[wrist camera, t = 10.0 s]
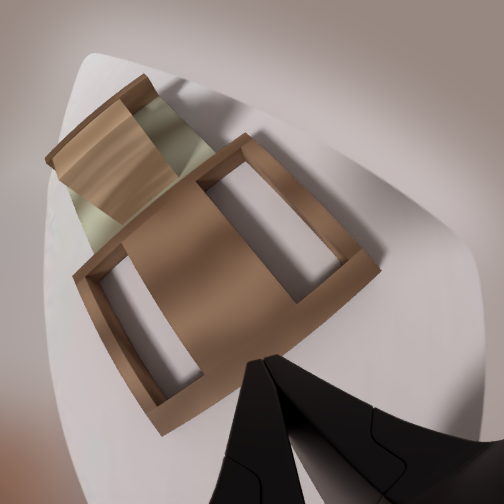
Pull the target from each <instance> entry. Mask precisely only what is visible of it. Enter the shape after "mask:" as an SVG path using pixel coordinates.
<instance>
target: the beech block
mask: <svg viewBox="0 0 504 504" xmlns="http://www.w3.org/2000/svg"><path fill="white" fill-rule="evenodd" d="M52 159H53V163H54V166H55V170H56V173H57V176H58V179H59V181H61V182H62V183H63V184H65V185H66V186H68V187H69V188H70V189H72V190H73V191H74V192H76V193H77V194H79V195H80V196H81V197H83V198H84V199H86V200H87V201H88V202H90V203H91V204H93V205H94V206H95V207H97V208H98V209H100V210H101V211H102V212H104V213H105V214H107V215H108V216H110V217H111V218H112V219H114V220H115V221H117V222H118V223H120V224H121V225H123V224H124V223H125V222H126V221H127V220H129V219H130V218H131V217H132V216H133V215H134V214H136V213H137V212H138V211H139V210H140V209H141V208H142V207H144V206H145V205H146V204H147V203H148V202H150V201H151V200H152V199H153V198H154V197H156V196H157V195H158V194H159V193H160V192H162V191H163V190H164V189H165V188H167V187H168V186H169V185H170V184H172V183H173V182H174V181H175V180H177V179H178V178H179V177H178V176H177V175H176V173H175V172H174V171H173V169H172V168H171V167H170V165H169V164H168V163H167V161H166V160H165V159H164V157H163V156H162V155H161V153H160V152H159V151H158V149H157V148H156V147H155V145H154V144H153V143H152V141H151V140H150V139H149V137H148V136H147V135H146V133H145V132H144V131H143V129H142V128H141V126H140V125H139V124H138V122H137V121H136V120H135V118H134V117H133V116H132V114H131V113H130V112H129V111H128V109H127V108H126V107H125V105H124V104H123V103H122V102H121V100H120V99H118V100H117V101H116V102H114V103H113V104H112V105H111V106H109V107H108V108H107V109H106V110H105V111H103V112H102V113H101V114H100V115H99V116H97V117H96V118H95V119H94V120H93V121H91V122H90V123H89V124H88V125H87V126H86V127H85V128H84V129H82V130H81V131H80V132H79V133H78V134H77V135H76V136H75V137H74V138H73V139H72V140H71V141H69V142H68V143H67V144H66V145H65V146H64V147H63V148H62V149H61V150H60V151H59V152H58V153H57V154H56V155H55V156H54V157H53V158H52Z"/></svg>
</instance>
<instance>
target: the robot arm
mask: <svg viewBox="0 0 504 504" xmlns="http://www.w3.org/2000/svg"><path fill="white" fill-rule="evenodd" d="M290 443H291V444H290ZM291 445H292V447H293V449H294V451H295V452H296V454H297V456H298V458H299V459H300V461H301V463H302V465H303V467H304V468H305V470H306V472H307V474H308V475H309V477H310V479H311V481H312V482H313V484H314V486H315V487H316V489H317V491H318V492H319V494H320V496H321V498H322V499H323V501H324V503H325V504H504V439H503V440H499V441H492V442H478V441H471V440H467V439H463V438H459V437H455V436H451V435H448V434H444V433H441V432H437V431H434V430H431V429H427V428H424V427H421V426H418V425H415V424H412V423H410V422H407V421H404V420H402V419H400V418H397V417H395V416H393V415H390V414H388V413H386V412H384V411H382V410H380V409H378V408H376V407H374V408H373V406H372V405H370V404H368V403H366V402H364V401H362V400H360V399H358V398H356V397H354V396H352V395H350V394H348V393H346V392H344V391H343V390H341V389H339V388H337V387H335V386H333V385H331V384H330V383H328V382H326V381H324V380H322V379H320V378H319V377H317V376H315V375H313V374H311V373H310V372H308V371H306V370H304V369H303V368H301V367H299V366H297V365H296V364H294V363H292V362H290V361H289V360H287V359H285V358H284V357H282V356H280V355H278V354H275V355H271V356H267V357H264V358H263V360H262V359H256V360H252V361H249V362H247V364H246V368H245V372H244V377H243V381H242V385H241V389H240V394H239V398H238V402H237V406H236V410H235V414H234V419H233V423H232V427H231V431H230V435H229V439H228V443H227V447H226V451H225V457H224V458H223V462H222V466H221V470H220V473H219V477H218V480H217V483H216V487H215V489H214V492H213V494H212V497H211V499H210V502H209V504H305V500H304V496H303V492H302V488H301V484H300V480H299V476H298V472H297V468H296V464H295V460H294V456H293V452H292V448H291Z"/></svg>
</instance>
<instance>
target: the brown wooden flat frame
mask: <svg viewBox="0 0 504 504" xmlns="http://www.w3.org/2000/svg"><path fill="white" fill-rule="evenodd" d="M118 99H120V100H121V102H122V103H123V104H124V105H125V107H126V108H127V109H128V111H129V112H130V113H131V114H132V116H133V117H134V118H135V120H136V121H137V122H138V124H139V125H140V126H141V128H142V129H143V131H144V132H145V133H146V135H147V136H148V137H149V139H150V140H151V141H152V143H153V144H154V145H155V147H156V148H157V149H158V151H159V152H160V153H161V155H162V156H163V157H164V159H165V160H166V161H167V163H168V164H169V165H170V167H171V168H172V169H173V171H174V172H175V173H176V175H177V176H178V177H179V178H178V179H177V180H175V181H174V182H173V183H172V184H170V185H169V186H168V187H167V188H165V189H164V190H163V191H162V192H160V193H159V194H158V195H157V196H156V197H154V198H153V199H152V200H151V201H150V202H148V203H147V204H146V205H145V206H144V207H142V208H141V209H140V210H139V211H138V212H137V213H136V214H134V215H133V216H132V217H131V218H130V219H129V220H127V221H126V222H125V223H124V224H123V225H121V224H120V223H118V222H117V221H115V220H114V219H112V218H111V217H110V216H108V215H107V214H105V213H104V212H102V211H101V210H100V209H98V208H97V207H95V206H94V205H93V204H91V203H90V202H88V201H87V200H86V199H84V198H83V197H81V196H80V195H79V194H77V193H76V192H74V191H73V190H72V189H70V188H69V187H68V186H67V188H68V191H69V194H70V196H71V199H72V202H73V204H74V207H75V210H76V212H77V215H78V217H79V220H80V222H81V225H82V227H83V229H84V232H85V234H86V236H87V239H88V241H89V243H90V246H91V248H92V250H93V252H94V255H93V256H92V257H91V258H90V259H89V260H88V261H87V262H86V263H85V264H84V265H83V266H82V267H81V268H80V269H79V270H78V271H77V272H76V273H75V274H74V275H73V276H72V277H73V279H74V281H75V284H76V286H77V289H78V291H79V293H80V296H81V298H82V300H83V302H84V305H85V307H86V309H87V311H88V313H89V315H90V318H91V320H92V322H93V324H94V326H95V328H96V330H97V332H98V334H99V336H100V338H101V340H102V342H103V343H104V345H105V347H106V349H107V351H108V353H109V355H110V356H111V358H112V360H113V362H114V364H115V365H116V367H117V369H118V371H119V372H120V374H121V376H122V377H123V379H124V381H125V382H126V384H127V386H128V387H129V389H130V391H131V392H132V394H133V395H134V397H135V398H136V400H137V402H138V403H139V405H140V406H141V408H142V409H143V411H144V412H145V414H146V415H147V417H148V418H149V419H150V421H151V422H152V424H153V425H154V427H155V428H156V429H157V431H158V432H159V433H160V435H161V436H164V435H166V434H167V433H169V432H171V431H172V430H174V429H176V428H177V427H179V426H181V425H182V424H184V423H186V422H187V421H189V420H191V419H192V418H194V417H195V416H197V415H198V414H200V413H202V412H203V411H205V410H206V409H208V408H209V407H211V406H212V405H214V404H215V403H217V402H218V401H220V400H221V399H223V398H224V397H226V396H227V395H229V394H230V393H232V392H233V391H235V390H236V389H238V388H239V387H240V386H241V385H242V381H243V377H244V372H245V368H246V364H247V362H249V361H252V360H256V359H262V360H263V358H264V357H267V356H271V355H275V354H278V355H280V356H283V355H284V354H285V353H287V352H288V351H289V350H290V349H292V348H293V347H294V346H296V345H297V344H298V343H299V342H301V341H302V340H303V339H304V338H306V337H307V336H308V335H309V334H311V333H312V332H313V331H314V330H315V329H317V328H318V327H319V326H320V325H321V324H323V323H324V322H325V321H326V320H327V319H329V318H330V317H331V316H332V315H333V314H335V313H336V312H337V311H338V310H339V309H340V308H341V307H343V306H344V305H345V304H346V303H347V302H348V301H349V300H351V299H352V298H353V297H354V296H355V295H356V294H357V293H358V292H359V291H361V290H362V289H363V288H364V287H365V286H366V285H367V284H368V283H369V282H370V281H371V280H373V279H374V278H375V277H376V276H377V275H378V274H379V273H380V272H381V269H380V268H379V267H378V266H377V265H376V264H375V262H374V261H373V260H372V259H371V258H370V257H369V256H368V255H367V253H366V252H365V251H364V250H363V249H362V248H361V247H360V246H359V244H358V243H357V242H356V241H355V240H354V239H353V238H352V237H351V236H350V235H349V234H348V232H347V231H346V230H345V229H344V228H343V227H342V226H341V225H340V224H339V223H338V222H337V221H336V220H335V219H334V218H333V217H332V215H331V214H330V213H329V212H328V211H327V210H326V209H325V208H324V207H323V206H322V205H321V204H320V203H319V202H318V201H317V200H316V199H315V198H314V197H313V196H312V195H311V194H310V193H309V192H308V191H307V190H306V189H305V188H304V187H303V186H302V185H301V184H300V183H299V182H298V181H297V180H296V179H295V178H294V177H293V176H292V175H291V174H290V173H289V172H288V171H287V170H286V169H285V168H284V167H282V166H281V165H280V164H279V163H278V162H277V161H276V160H275V159H274V158H273V157H272V156H271V155H270V154H269V153H268V152H266V151H265V150H264V149H263V148H262V147H261V146H260V145H259V144H258V143H257V142H256V141H254V140H253V139H252V138H251V137H250V136H249V135H248V134H247V133H246V132H245V133H244V134H242V135H241V136H239V137H238V138H237V139H235V140H234V141H232V142H231V143H229V144H228V145H227V146H225V147H224V148H222V149H221V150H220V151H218V152H217V153H215V152H214V151H213V150H212V149H211V148H210V147H209V146H208V145H207V144H206V143H205V141H204V140H203V139H202V138H201V137H200V136H199V135H198V134H197V133H196V132H195V131H194V130H193V129H192V128H191V127H190V126H189V125H188V124H187V123H186V122H185V121H184V120H183V119H182V118H181V117H180V116H179V115H178V114H177V113H176V112H175V111H174V110H173V109H172V108H171V107H170V106H169V105H168V104H167V103H166V102H165V101H164V100H163V99H162V98H160V97H159V95H158V93H157V92H156V90H155V88H154V87H153V85H152V83H151V82H150V80H149V78H148V77H147V76H146V75H145V74H142V75H141V76H139V77H138V78H137V79H135V80H134V81H132V82H131V83H130V84H128V85H127V86H126V87H124V88H123V89H122V90H120V91H119V92H118V93H116V94H115V95H114V96H112V97H111V98H110V99H109V100H107V101H106V102H105V103H104V104H102V105H101V106H100V107H99V108H98V109H96V110H95V111H94V112H93V113H92V114H91V115H89V116H88V117H87V118H86V119H85V120H84V121H82V122H81V123H80V124H79V125H78V126H77V127H76V128H75V129H74V130H73V131H71V132H70V133H69V134H68V135H67V136H66V137H65V138H64V139H63V140H62V141H61V142H60V143H59V144H58V145H57V146H56V147H55V148H54V149H53V150H52V151H51V152H50V153H49V154H48V155H47V156H46V157H45V161H46V164H48V165H49V166H50V167H52V168H53V169H54V170H55V166H54V163H53V159H52V158H53V157H54V156H55V155H56V154H57V153H58V152H59V151H60V150H61V149H62V148H63V147H64V146H65V145H66V144H67V143H68V142H69V141H71V140H72V139H73V138H74V137H75V136H76V135H77V134H78V133H79V132H80V131H81V130H82V129H84V128H85V127H86V126H87V125H88V124H89V123H90V122H91V121H93V120H94V119H95V118H96V117H97V116H99V115H100V114H101V113H102V112H103V111H105V110H106V109H107V108H108V107H109V106H111V105H112V104H113V103H114V102H116V101H117V100H118ZM245 161H246V162H247V163H248V164H249V165H250V166H251V167H252V168H253V169H254V170H255V171H256V172H257V173H258V174H259V175H260V176H261V177H262V178H263V179H264V180H265V181H266V182H267V183H268V184H269V185H270V186H271V187H272V188H273V189H274V190H275V191H276V192H277V193H278V194H279V195H280V196H281V197H282V198H283V199H284V200H285V202H286V203H287V204H288V205H289V206H290V207H291V208H292V209H293V210H294V211H295V212H296V213H297V214H298V215H299V216H300V217H301V218H302V220H303V221H304V222H305V223H306V224H307V225H308V226H309V227H310V228H311V229H312V230H313V231H314V233H315V234H316V235H317V236H318V237H319V238H320V239H321V240H322V241H323V242H324V244H325V245H326V246H327V247H328V248H329V249H330V250H331V251H332V252H333V254H334V255H335V256H336V257H337V258H338V259H339V260H340V262H341V263H342V264H343V266H342V267H341V268H339V269H338V270H337V271H336V272H335V273H334V274H333V275H331V276H330V277H329V278H328V279H327V280H326V281H324V282H323V283H322V284H321V285H320V286H318V287H317V288H316V289H315V290H314V291H312V292H311V293H310V294H309V295H308V296H306V297H305V298H304V299H303V300H302V301H300V302H299V303H298V304H296V303H295V302H294V300H293V299H292V298H291V297H290V296H289V294H288V293H287V292H286V291H285V289H284V288H283V287H282V286H281V285H280V283H279V282H278V281H277V280H276V279H275V277H274V276H273V275H272V274H271V272H270V271H269V270H268V269H267V268H266V266H265V265H264V264H263V263H262V262H261V260H260V259H259V258H258V257H257V255H256V254H255V253H254V252H253V251H252V249H251V248H250V247H249V246H248V245H247V243H246V242H245V241H244V240H243V238H242V237H241V236H240V235H239V234H238V232H237V231H236V230H235V229H234V228H233V226H232V225H231V224H230V223H229V222H228V220H227V219H226V218H225V217H224V215H223V214H222V213H221V212H220V211H219V209H218V208H217V207H216V206H215V205H214V203H213V202H212V201H211V200H210V199H209V197H208V196H207V195H206V194H205V191H206V190H207V189H209V188H210V187H211V186H212V185H214V184H215V183H216V182H218V181H219V180H220V179H222V178H223V177H224V176H226V175H227V174H228V173H230V172H231V171H232V170H234V169H235V168H236V167H238V166H239V165H241V164H242V163H243V162H245ZM55 171H56V170H55ZM127 255H128V256H129V257H130V259H131V261H132V263H133V264H134V266H135V268H136V270H137V271H138V273H139V275H140V277H141V278H142V280H143V282H144V283H145V285H146V287H147V289H148V290H149V292H150V294H151V295H152V297H153V298H154V300H155V302H156V303H157V305H158V307H159V308H160V310H161V311H162V313H163V315H164V316H165V318H166V319H167V321H168V322H169V324H170V325H171V327H172V328H173V330H174V332H175V333H176V335H177V336H178V338H179V339H180V341H181V342H182V343H183V345H184V346H185V348H186V349H187V351H188V352H189V354H190V355H191V357H192V358H193V359H194V361H195V362H196V364H197V365H198V366H199V368H200V369H201V371H202V372H203V373H204V375H203V376H202V377H201V378H199V379H198V380H196V381H195V382H193V383H192V384H191V385H189V386H188V387H186V388H185V389H183V390H182V391H180V392H179V393H177V394H176V395H174V396H173V397H171V398H170V399H168V400H167V399H166V397H165V396H164V395H163V393H162V392H161V390H160V389H159V387H158V386H157V384H156V383H155V381H154V380H153V378H152V377H151V375H150V373H149V372H148V370H147V369H146V367H145V365H144V364H143V362H142V361H141V359H140V357H139V356H138V354H137V352H136V351H135V349H134V347H133V346H132V344H131V342H130V341H129V339H128V337H127V335H126V333H125V332H124V330H123V328H122V326H121V325H120V323H119V321H118V319H117V317H116V315H115V313H114V311H113V310H112V308H111V306H110V304H109V302H108V300H107V298H106V296H105V294H104V292H103V290H102V288H101V286H100V284H99V281H100V280H101V279H102V278H103V277H104V276H105V275H106V274H107V273H108V272H109V271H111V270H112V269H113V268H114V267H115V266H116V265H117V264H118V263H119V262H121V261H122V260H123V259H124V258H125V257H126V256H127Z"/></svg>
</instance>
